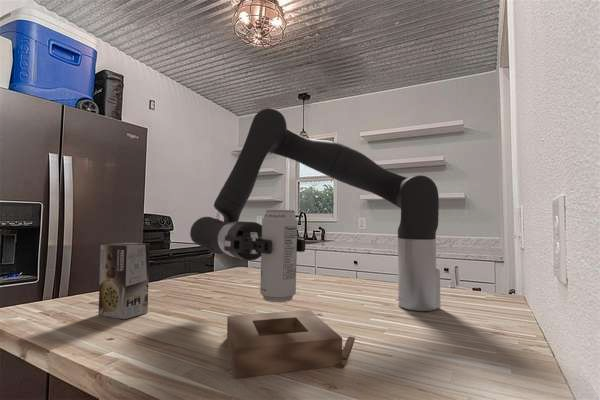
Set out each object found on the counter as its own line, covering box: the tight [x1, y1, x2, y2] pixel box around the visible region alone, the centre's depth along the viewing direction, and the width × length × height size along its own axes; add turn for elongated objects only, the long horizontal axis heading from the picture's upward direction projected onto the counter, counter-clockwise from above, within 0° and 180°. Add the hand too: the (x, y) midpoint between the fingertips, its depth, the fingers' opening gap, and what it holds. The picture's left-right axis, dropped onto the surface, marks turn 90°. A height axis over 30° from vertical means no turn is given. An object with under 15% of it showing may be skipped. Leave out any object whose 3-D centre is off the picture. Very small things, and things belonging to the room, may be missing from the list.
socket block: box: [226, 309, 343, 379], centre depth 55 cm, size 16×16×4 cm
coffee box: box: [98, 242, 151, 320], centre depth 76 cm, size 9×6×16 cm
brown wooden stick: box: [335, 336, 355, 369], centre depth 55 cm, size 13×1×1 cm, turn 164°
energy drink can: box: [259, 209, 298, 303], centre depth 56 cm, size 6×6×15 cm
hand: (287, 246), depth 54 cm, fingers closed on energy drink can, 6 cm apart
